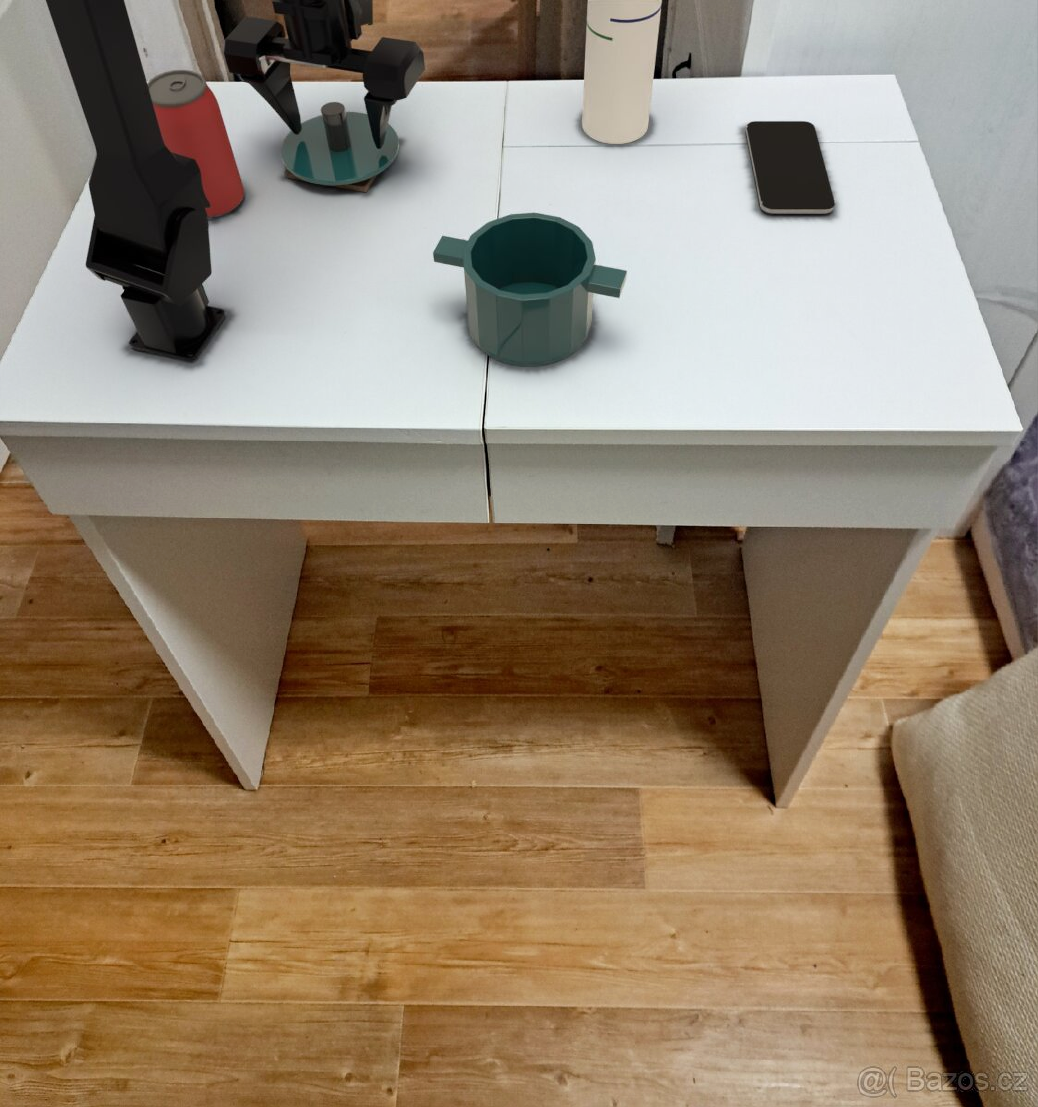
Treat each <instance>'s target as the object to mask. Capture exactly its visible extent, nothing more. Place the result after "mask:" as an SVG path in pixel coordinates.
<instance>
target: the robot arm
mask: <svg viewBox="0 0 1038 1107" xmlns="http://www.w3.org/2000/svg"><path fill="white" fill-rule="evenodd" d="M271 2H272V7H273V12H274V14H276V15H277V14H278V15H282V18H283V21H284V25H285V26H284V25H283V24H282V23H281V22H279V21H278V20H273V19H267V18H261V17H254V16H248V15H246V16H244V18H243V19H242V20H241V21H240V22H239V24H237V26H236V27H235V28H234V29H233V30H232V31H231V32H230V33H229V34H228V36H227V37H226V38H225V39H224V41H223V42H222V47H221V54H222V59H223V61H224V65H225V69H226V70H227V72H228V73H230V74H234V75H235V74H236V75H239V78H240V80H241V82H242V83H246V84H248V85H250V86H251V87H252V88H253V89H254V90H255V91H256V92H257V93H258V94H259V95H260V96H261V98H263V100H264V101H265V102H267V103H268V105H269V106H270V107H271V108H272V109H273V110H274V111H275V113H276V114H277V116H279V117H280V119H281V120H282V121H283V123H285V126H287V127H288V128H289V130H290V132H291V131H292V132H293V133H294V134H296V135H298V134H299V133H300V132H301V130H302V126H301V123H302V119H301V113H300V109H299V104H298V101H297V97H296V92H295V89H294V85H293V84H294V83H293V80H292V77H291V64H294V65H301V66H309V67H314V68H321V69H326V68H328V69H332V70H333V69H334V70H339V71H345V72H351V73H356V74H357V73H358V74H362V82H363V87H364V88H365V90H366V91H367V92H366V94H365V95H364V97H363V101H364V107H365V110H366V114H367V115H368V119H369V124H370V128H371V133H372V137H373V140H374V143H375V145H376V148H377V149H381V147H382V146H383V144H384V141H385V136H386V131H387V126H388V124H389V121H390V118H391V117H390V116H391V111H392V107H393V106H394V105H395V104H396V103H397V102H398V101H402V100H404V99H407V98H408V97H409V95H410V93H411V92H412V90H413V89H414V87H415V86H416V84H417V82H419V80H420V78H421V76H422V75H423V73H424V72H425V71H426V65H425V55H424V51H423V50H422V48H421V46H420V45H419V44H418V43H417V42H416V41H412V40H406V39H399V38H392V37H385V36H382V37H381V38H380V39H379V40H378V42H377V44H376V45H375V46H374V48H373V49H372V50H368V49H360V48H355V47H353V46H352V41H353V40H355V41H358V40H359V39H360V37H362V35H363V30H362V26H365V25H368V26H373V25H374V0H271ZM45 3H46V5H47V9H48V12H49V15H50V18H51V20H52V23H53V26H54V30H55V32H56V35H57V38H58V41H59V44H60V47H61V50H62V53H63V57H64V59H65V62H66V64H67V68H68V70H69V71H68V72H69V74H70V77H71V80H72V82H73V86H74V90H75V91H76V94H77V98H78V100H79V103H80V106H81V110H82V113H83V115H84V117H85V121H86V123H87V127H88V130H89V132H90V135H91V138H92V141H93V145H94V148H95V152H96V154H95V157H94V161H93V165H92V168H91V171H90V176H89V179H88V189H89V194H90V199H91V203H92V208H93V213H94V217H93V221H92V227H91V232H90V233H91V234H90V239H89V244H88V249H87V254H86V260H85V268H86V269H87V270H88V271H90V273H92V274H93V275H94V276H95V277H96V278H97V279H98V280H101V281H104V282H105V281H107V282H110V283H113V284H116V285H118V286H121V287H122V289H123V292H122V293H121V294H120V299H121V301H122V302H123V304H124V307H125V309H126V311H127V313H128V315H129V317H130V320H131V321H132V323H133V325H134V327H135V330H136V331H135V333H134V334H133V336H132V337H131V338H130V340H129V342H128V344H129V346H130V348H131V349H133V350H136V351H140V352H141V351H142V352H146V353H150V354H155V355H159V356H163V357H167V358H172V359H175V360H176V359H177V360H181V361H185V362H191V363H192V362H194V361H196V360H198V357H200V354H201V353H202V351H203V350H204V349H205V347H206V346H207V344H208V343H209V341H210V340H211V339H212V337H213V335H214V334H215V333H216V331H217V330H218V329H219V327H220V326H221V324H222V323H223V321H224V320H225V318H226V317H227V313H226V311H225V309H224V308H220V307H216V306H211V305H209V303H210V300H209V297H208V295H207V292H206V290H205V288H204V285H203V284H204V283H205V282H206V281H207V279H209V277H211V275H212V259H211V258H212V257H211V245H210V244H211V243H210V231H209V228H210V227H209V226H210V224H209V217H208V216H207V212H206V209H205V208H210V206H211V204H210V202H209V201H208V199H207V198H206V196H205V193H204V190H203V185H202V178H201V171H200V168H199V166H198V164H197V162H196V160H195V159H193V158H189V157H186V156H183V155H179V154H176V153H173V152H171V151H170V150H169V149H168V148H167V146H166V145H165V143H164V141H163V138H162V135H161V131H160V128H159V124H158V120H157V117H156V113H155V110H154V106H153V102H152V99H151V95H150V92H149V88H148V84H147V83H148V81H147V78H146V74H145V71H144V67H143V63H142V59H141V57H140V56H141V55H140V53H139V49H138V45H137V41H136V38H135V35H134V30H133V26H132V24H131V20H130V15H129V12H128V9H127V6H126V2H125V0H45ZM285 30H286V31H285ZM286 36H287V37H286Z"/></svg>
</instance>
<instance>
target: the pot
mask: <svg viewBox="0 0 1038 1107" xmlns="http://www.w3.org/2000/svg"><path fill="white" fill-rule="evenodd" d="M432 255H433V262H434V263H438V264H444V265H448V266H454V267H458V268H462V269H463V274H464V289H465V300H466V312H467V313H466V315H467V324H468V331H469V334H470V337H471V340H472V341H473V342H474V344H475V346H477V348H478V349H479V350H480V351H482V352H483V353H484V354H485V355H486V356H488V357H490V358H492V359H494V360H496V361H498V362H501V363H503V364H507V365H511V366H518V367H540V366H547V365H550V364H554V363H558V362H560V361H562V360H565V359H567V358H568V357H570V356H571V355H573V354H574V353H576V351H578V350H579V349H580V348H581V347H582V346H583V344H584V343H585V342H586V340H587V338H588V336H589V334H590V330H591V324H592V322H593V305H594V294H596V295H601V296H606V297H611V298H616V299H620V298H621V296H622V293H623V290H624V287H625V283H626V281H627V277H628V270H625V269H620V268H615V267H610V266H605V265H600V264H596V262H597V258H596V252H595V247H594V243H593V241H592V239H591V238H589V236H588V235H587V234H586V233H585V232H584V231H583V229H581V227H580V226H578V225H576V224H575V223H572V222H570V221H568V220H566V219H564V218H562V217H560V216H555V215H551V214H544V213H540V212H523V213H510V214H507V215H504V216H501V217H499V218H496V219H493V220H490V221H488V222H486V223H485V224H484V225H482V226H480V227H479V228H478V229H477V230H475V232H473V233H472V234H471V235H470V236H469V237H468V239H461V238H457V237H451V236H447V235H442V236H441V237H440V239H439V240H438V242H437V245H436V246H435V248H434V250H433V251H432Z"/></svg>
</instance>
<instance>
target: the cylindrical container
mask: <svg viewBox="0 0 1038 1107" xmlns="http://www.w3.org/2000/svg"><path fill="white" fill-rule="evenodd" d="M662 3H663V0H587V7H586V8H587V9H586V30H585V51H584V53H585V54H584V56H585V57H584V73H583V93H582V94H583V96H582V97H583V98H582V116H581V117H582V118H581V126H582V130H583V131H584V133H585V134H586V135H587V136H588V137H589V138H591V139H592V140H595V141H597V142H600V143H603V144H609V145H623V144H628V143H629V144H630V143H632V142H635V141H637V140H639V139H641V138H642V137H643V136H645V134H646V133H647V131H648V129H649V123H650V122H649V121H650V113H651V103H652V93H653V85H654V76H655V75H654V74H655V66H656V59H657V58H656V57H657V50H658V40H659V31H660V23H661V12H662Z"/></svg>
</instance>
